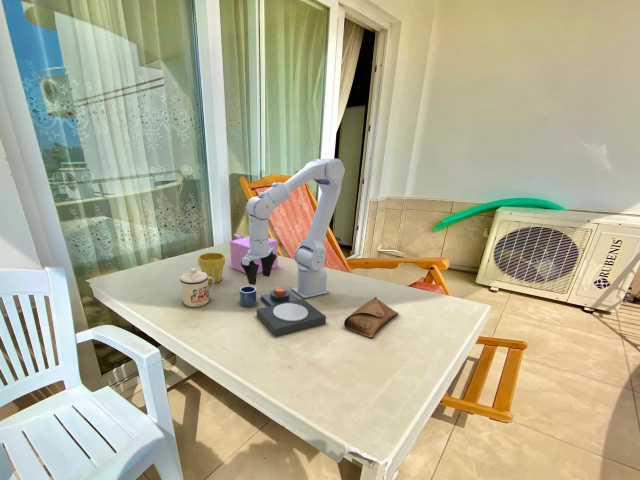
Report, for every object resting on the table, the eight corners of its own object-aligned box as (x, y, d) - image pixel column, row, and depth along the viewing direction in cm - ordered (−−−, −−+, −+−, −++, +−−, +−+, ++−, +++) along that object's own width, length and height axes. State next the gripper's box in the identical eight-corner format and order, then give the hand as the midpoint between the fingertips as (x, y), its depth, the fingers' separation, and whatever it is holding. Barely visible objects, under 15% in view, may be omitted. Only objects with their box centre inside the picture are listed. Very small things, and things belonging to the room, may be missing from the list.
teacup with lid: (191, 310, 96) (188, 276, 92) (177, 301, 103) (174, 268, 98) (222, 298, 103) (220, 266, 99) (207, 290, 110) (204, 260, 106)
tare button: (281, 291, 101) (281, 286, 101) (286, 294, 98) (286, 290, 98) (273, 292, 100) (273, 288, 99) (277, 296, 97) (277, 292, 97)
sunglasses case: (374, 338, 78) (363, 314, 78) (350, 340, 83) (340, 318, 83) (400, 312, 89) (391, 291, 90) (378, 316, 95) (369, 296, 95)
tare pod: (287, 293, 105) (287, 285, 104) (299, 303, 98) (299, 294, 97) (260, 298, 102) (260, 290, 101) (271, 309, 95) (271, 300, 94)
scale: (302, 305, 96) (302, 297, 95) (325, 324, 86) (326, 315, 85) (256, 316, 91) (256, 307, 90) (275, 337, 81) (275, 327, 80)
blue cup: (252, 298, 103) (252, 284, 101) (259, 305, 98) (258, 291, 96) (237, 301, 101) (237, 287, 99) (243, 308, 96) (243, 294, 94)
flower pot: (231, 277, 120) (230, 254, 117) (215, 287, 112) (214, 262, 109) (210, 273, 126) (209, 250, 122) (194, 281, 117) (192, 258, 114)
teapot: (248, 255, 145) (247, 227, 140) (285, 269, 126) (286, 237, 122) (222, 263, 137) (220, 232, 132) (258, 279, 118) (257, 244, 113)
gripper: (262, 231, 98) (262, 270, 103) (233, 241, 88) (235, 284, 93) (280, 234, 94) (280, 274, 99) (252, 245, 84) (253, 290, 89)
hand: (259, 279), depth 96 cm, fingers open, 7 cm apart
